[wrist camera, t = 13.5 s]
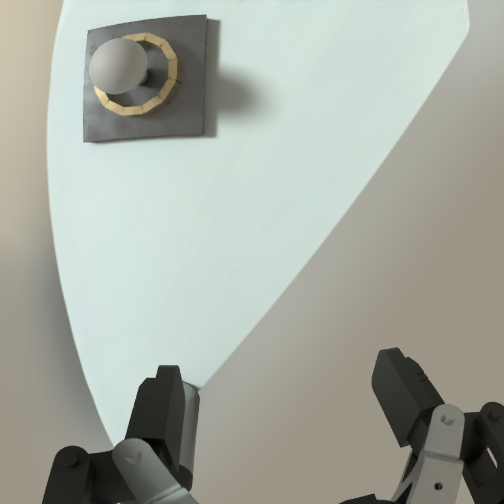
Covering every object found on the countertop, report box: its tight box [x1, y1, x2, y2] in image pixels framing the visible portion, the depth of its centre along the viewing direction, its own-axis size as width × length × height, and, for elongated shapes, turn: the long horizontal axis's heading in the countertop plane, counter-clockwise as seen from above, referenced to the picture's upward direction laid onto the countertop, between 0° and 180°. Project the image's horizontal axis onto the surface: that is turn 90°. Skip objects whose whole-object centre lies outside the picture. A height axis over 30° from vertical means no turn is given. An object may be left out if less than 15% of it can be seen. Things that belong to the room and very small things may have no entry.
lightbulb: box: [89, 38, 148, 94], centre depth 28 cm, size 6×6×11 cm
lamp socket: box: [83, 15, 207, 143], centre depth 32 cm, size 16×16×4 cm
